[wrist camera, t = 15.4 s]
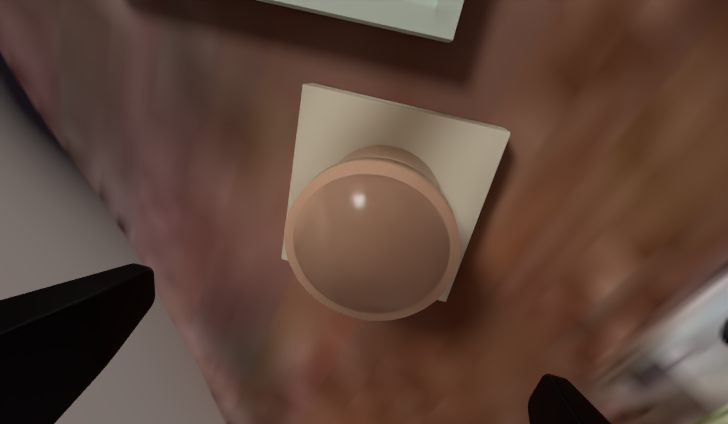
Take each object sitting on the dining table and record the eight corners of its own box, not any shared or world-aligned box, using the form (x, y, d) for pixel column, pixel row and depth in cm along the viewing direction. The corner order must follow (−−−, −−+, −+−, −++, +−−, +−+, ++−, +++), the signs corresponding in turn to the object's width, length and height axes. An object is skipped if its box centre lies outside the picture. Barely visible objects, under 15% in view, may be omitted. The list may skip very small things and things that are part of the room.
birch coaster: (503, 127, 14) (510, 132, 13) (444, 286, 17) (445, 302, 16) (311, 82, 14) (303, 84, 13) (289, 246, 17) (281, 258, 16)
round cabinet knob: (468, 156, 13) (487, 190, 10) (427, 274, 15) (430, 338, 12) (328, 122, 13) (295, 143, 10) (309, 243, 16) (276, 296, 12)
